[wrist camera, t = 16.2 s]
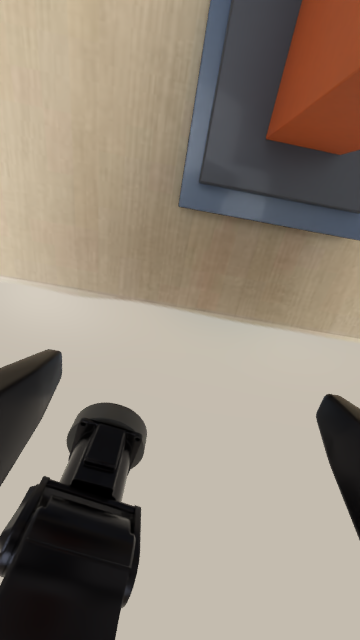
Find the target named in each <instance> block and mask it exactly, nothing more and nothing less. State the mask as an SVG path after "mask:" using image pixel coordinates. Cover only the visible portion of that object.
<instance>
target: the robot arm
mask: <svg viewBox="0 0 360 640" xmlns="http://www.w3.org/2000/svg"><path fill="white" fill-rule="evenodd" d="M61 375H62V354H61V352H60V351H55V350H49V349H48V350H45V351H42V352H40V353H37V354H35V355H32V356H30V357H27V358H25V359H22V360H19V361H17V362H15V363H12V364H10V365H7V366H4V367H2V368H0V486H1V484H2V483H3V481H4V480H5V478H6V476H7V475H8V473H9V471H10V470H11V468H12V467H13V465H14V463H15V462H16V460H17V458H18V457H19V455H20V454H21V452H22V450H23V449H24V447H25V445H26V444H27V442H28V441H29V439H30V437H31V435H32V434H33V432H34V431H35V429H36V427H37V426H38V424H39V423H40V421H41V419H42V417H43V415H44V413H45V411H46V409H47V406H48V404H49V402H50V400H51V398H52V396H53V394H54V391H55V389H56V387H57V385H58V383H59V381H60V379H61ZM316 418H317V423H318V426H319V429H320V433H321V436H322V440H323V443H324V447H325V451H326V454H327V457H328V460H329V463H330V466H331V469H332V471H333V474H334V476H335V479H336V481H337V484H338V486H339V489H340V491H341V494H342V497H343V499H344V502H345V504H346V506H347V509H348V511H349V514H350V517H351V519H352V522H353V524H354V527H355V529H356V532H357V535H358V537H359V540H360V409H359V408H358V407H356V406H355V405H353V404H352V403H350V402H349V401H347V400H345V399H344V398H342V397H341V396H338V395H332V394H327V395H326V396H325V397H324V398H323V400H322V403H321V405H320V407H319V409H318V411H317V414H316ZM142 438H143V436H142V434H140V433H138V432H134V431H131V430H127V429H124V428H120V427H117V426H113V425H109V424H106V423H102V422H99V421H95V420H92V419H88V418H81V419H80V421H79V423H78V427H77V430H76V434H75V438H74V441H73V445H72V449H71V452H70V456H69V462H68V464H67V467H66V469H65V471H64V473H63V475H62V478H61V480H60V482H57V481H54V480H51V479H50V478H49V477H46V476H44V477H43V478H42V480H41V482H40V484H37V485H36V486H32V487H30V488H29V490H28V492H27V494H26V496H25V497H24V499H23V501H22V503H21V504H20V506H19V508H18V509H17V511H16V513H15V514H14V515H13V517H12V519H11V520H10V522H9V523H8V525H7V526H6V527H5V529H4V530H3V532H2V534H1V536H0V576H1V577H4V579H3V581H2V583H1V585H0V640H115V636H116V631H117V624H118V620H119V615H120V610H121V608H123V607H124V606H125V605H126V603H127V601H128V599H129V597H130V594H131V591H132V588H133V585H134V582H135V578H136V574H137V569H138V564H139V557H140V528H141V507H138V506H132V505H128V504H125V503H122V502H121V501H122V496H123V492H124V487H125V483H126V478H127V475H128V473H129V471H130V469H131V466H132V464H133V461H134V459H135V457H136V454H137V452H138V449H139V447H140V445H141V442H142Z"/></svg>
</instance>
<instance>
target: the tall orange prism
mask: <svg viewBox="0 0 360 640" xmlns="http://www.w3.org/2000/svg"><path fill="white" fill-rule="evenodd" d="M266 139H268V140H273V141H277V142H282V143H287V144H291V145H296V146H301V147H305V148H310V149H315V150H319V151H324V152H328V153H333V154H338V155H342V154H346V153H349V152H353V151H357V150H360V0H302V3H301V7H300V11H299V14H298V18H297V22H296V26H295V30H294V33H293V37H292V41H291V45H290V48H289V52H288V56H287V60H286V64H285V67H284V71H283V75H282V79H281V83H280V86H279V90H278V94H277V98H276V101H275V105H274V109H273V113H272V117H271V120H270V124H269V128H268V132H267V135H266Z"/></svg>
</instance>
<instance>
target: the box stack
mask: <svg viewBox="0 0 360 640" xmlns="http://www.w3.org/2000/svg"><path fill="white" fill-rule="evenodd" d="M301 3H302V0H211V1H210V7H209V13H208V20H207V26H206V33H205V39H204V45H203V52H202V58H201V64H200V71H199V77H198V84H197V90H196V96H195V103H194V109H193V115H192V122H191V128H190V135H189V141H188V147H187V154H186V160H185V166H184V173H183V179H182V186H181V192H180V198H179V205H178V206H179V207H183V208H188V209H194V210H199V211H204V212H210V213H215V214H220V215H226V216H231V217H237V218H242V219H247V220H253V221H258V222H263V223H269V224H274V225H279V226H285V227H290V228H295V229H301V230H306V231H311V232H317V233H322V234H327V235H333V236H338V237H343V238H349V239H354V240H359V241H360V150H357V151H353V152H349V153H346V154H342V155H338V154H333V153H328V152H324V151H319V150H315V149H310V148H305V147H301V146H296V145H291V144H287V143H282V142H277V141H273V140H268V139H266V135H267V132H268V128H269V124H270V120H271V117H272V113H273V109H274V105H275V101H276V98H277V94H278V90H279V86H280V83H281V79H282V75H283V71H284V67H285V64H286V60H287V56H288V52H289V48H290V45H291V41H292V37H293V33H294V30H295V26H296V22H297V18H298V14H299V11H300V7H301Z"/></svg>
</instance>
